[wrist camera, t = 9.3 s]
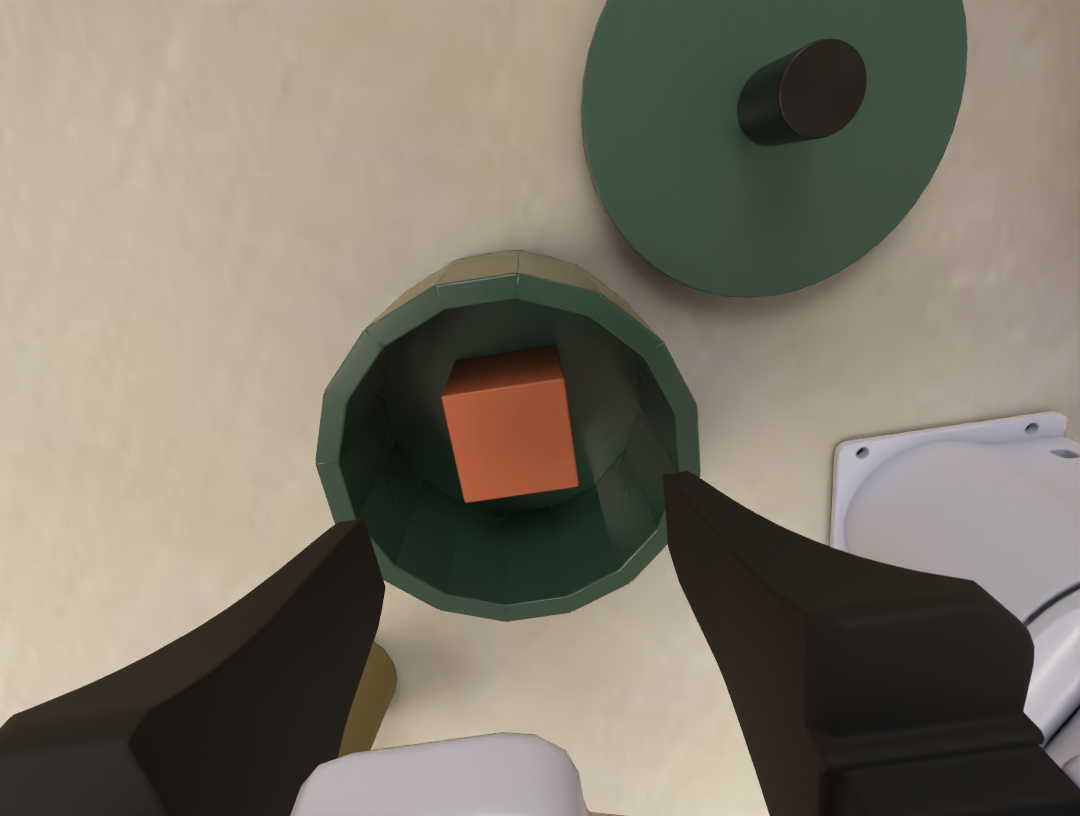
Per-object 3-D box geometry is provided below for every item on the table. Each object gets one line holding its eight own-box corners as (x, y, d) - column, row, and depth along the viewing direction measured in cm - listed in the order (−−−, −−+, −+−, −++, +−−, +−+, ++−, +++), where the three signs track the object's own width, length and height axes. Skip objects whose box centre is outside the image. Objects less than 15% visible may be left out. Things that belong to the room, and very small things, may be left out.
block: (556, 344, 22) (564, 378, 18) (570, 439, 23) (579, 487, 19) (453, 360, 22) (440, 396, 18) (473, 453, 23) (464, 504, 19)
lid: (966, -154, 17) (1105, -260, 13) (923, 266, 21) (1017, 284, 17) (555, -85, 17) (567, -168, 13) (599, 315, 22) (617, 344, 18)
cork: (266, 624, 26) (107, 900, 16) (397, 631, 27) (322, 905, 17) (275, 718, 29) (139, 1015, 18) (396, 724, 29) (328, 1016, 19)
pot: (642, 229, 21) (690, 245, 15) (663, 499, 25) (706, 594, 19) (335, 276, 21) (264, 311, 15) (406, 536, 25) (372, 641, 19)
